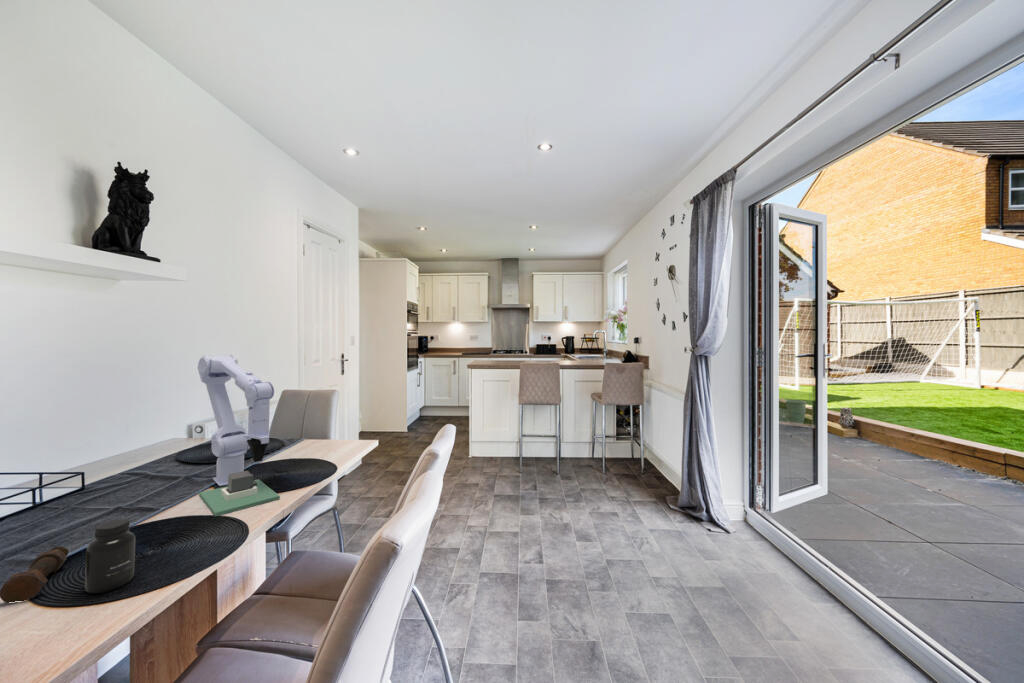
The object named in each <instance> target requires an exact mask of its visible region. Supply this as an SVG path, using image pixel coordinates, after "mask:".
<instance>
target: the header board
mask: <svg viewBox="0 0 1024 683" xmlns="http://www.w3.org/2000/svg"><path fill="white" fill-rule="evenodd" d="M227 488H228V485H225V486H223V487H222V486H221V487H217V488H215V489H210V490H204V491H200V492H199V493H198V497H200V499H201V501H203V503H204V505H206V507H207V508H208V510H209V511H210V512H211V513H212V514H213V516H214V517H219V516H222V515H226V514H229V513H233V512H237V511H241V510H244V509H248V508H252V507H255V506H260V505H265V504H267V503H270V502H274V501H277V500H278V501H279V500H280V495H279V494H278V493H277V492H275V491H274V490H273V489H272V488H270V487H269V486H267V484H265V483H264V482H263V481H262V480H261V479H259V478H258V479H253V487H252V489H247V490H243V491H239V492H235V493H231V494H229V493H228V492H227Z"/></svg>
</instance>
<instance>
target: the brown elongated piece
mask: <svg viewBox="0 0 1024 683" xmlns="http://www.w3.org/2000/svg"><path fill="white" fill-rule="evenodd" d="M68 555H69V549H68V548H66V547H63V546H57V547H52V548H51V549H50V550H46V551H42V552H40V553H39V554H38V555H37V556H36V557H35V558H34V560H33V561H32V563H31V564H30V565H29V567H28V568H29V569H27V571H26V570H25V571H22V572H17V573H13V574H12V575H11V576H10V577H9V578H8V579H7V580H6V581H5V582H4V584H3V585H2V586H1V588H0V599H1V600H2V601H3V602H4V603H6V604H7V603H9V602H15V601H24V600H28V599H30V598H32V597H35V596H36V595H37V596H38V594H39V593H40V592H41V591H42V589H43V587H44V586H45V585H46V584H47V582H48V581H49V579H48V578H47V577H48V576H49V575H50V574H49V573H51V572H55V571H57V570H58V569H59V570H60V568H61V567H62V566H63V565H64V563H65V562H66V560H67V559H68V557H67V556H68ZM59 570H58V571H59ZM58 571H57V572H58ZM55 573H56V572H55ZM51 574H52V573H51ZM37 596H36V597H37ZM36 597H35V598H36ZM28 601H29V600H28ZM24 602H25V601H24Z"/></svg>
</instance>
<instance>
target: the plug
mask: <svg viewBox="0 0 1024 683" xmlns="http://www.w3.org/2000/svg"><path fill="white" fill-rule="evenodd" d="M253 480H254V474H253V473H250V472H249V470H244V471H243V472H238V473H232V474H229V475H228V485H227V486H228V488H227V492H228V493H229V494H231V493H235V492H239V491H243V490H247V489H252V487H253Z"/></svg>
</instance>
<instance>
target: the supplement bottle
mask: <svg viewBox="0 0 1024 683" xmlns="http://www.w3.org/2000/svg"><path fill="white" fill-rule="evenodd" d="M93 538H94V539H93V540H92V541H90V543H89V544H88V545H87V547H86V549H85V550H86V552H85V555H86V556H85V572H84V577H85V578H84V589H85V592H87V593H89V594H102V593H107V592H110V591H113V590H116V589H118V588H120V587H123V586H124V585H126V584H128V583H129V582H130V581H132V579H133V577H134V575H135V574H134V573H135V558H136V556H135V555H136V535H135V534H134V533H133V532H131V531H130V520H129V519H127V518H119V519H118V518H117V519H112V520H108V521H103V523H99V524H98V525H96V526H95V527H94V534H93Z"/></svg>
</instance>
